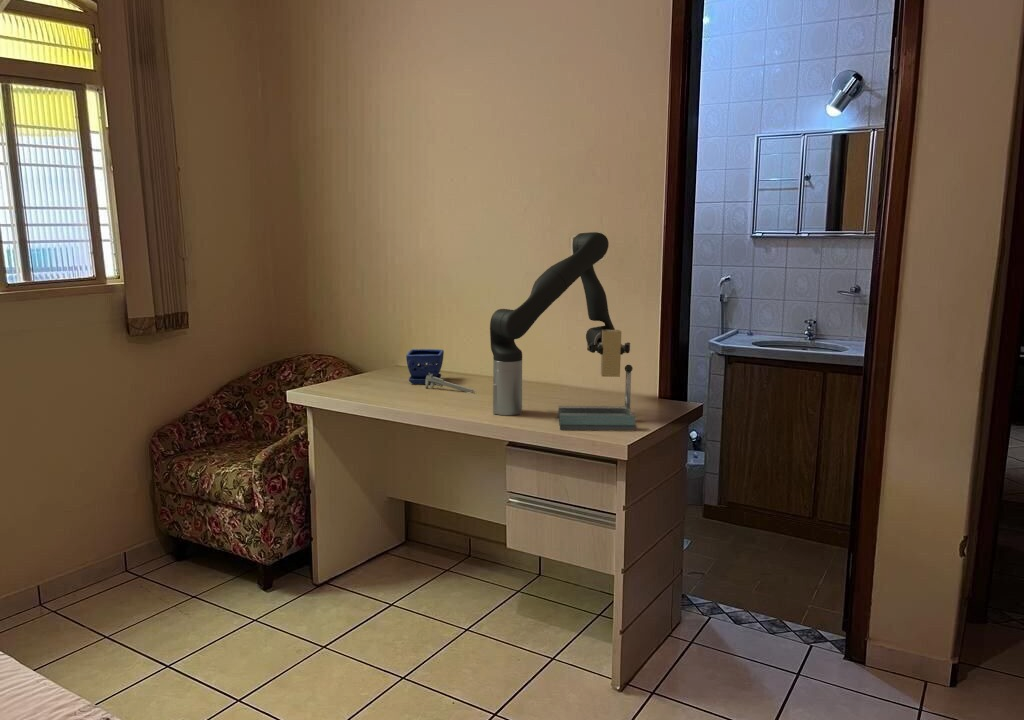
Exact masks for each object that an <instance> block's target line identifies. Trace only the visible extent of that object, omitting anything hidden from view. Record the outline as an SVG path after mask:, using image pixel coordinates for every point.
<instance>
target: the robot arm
mask: <svg viewBox="0 0 1024 720" xmlns="http://www.w3.org/2000/svg"><path fill="white" fill-rule="evenodd" d="M609 243H610V242H609V240H608V237H607V236H606V235H605V234H604V233H601V232H597V231H596V232H595V231H594V232H582V233H578V234H577V235H575V236H574V238H573V240H572V252H573V254H572V255H570V256H568V257H567V258H564V259H562V260H560V261H558V262H556V263H555V264H553V265H551V266H549V267H548V268H547V269H545V271H543V273H541V275H539V276H538V278H536V280H535V281H534V283H533V286H532V288H531V291H530V295H529V296H528V298H527V299H526V300H525V301H524V302H522V304H521V305H519V306H518V307H517V308H515V309H510V308H509V309H508V308H499V309H497V310H495V311H494V312H493V314H492V316H491V318H490V323H489V336H490V337H489V339H490V341H489V342H490V351H491V353H492V356H493V360H492V361H493V368H492V369H493V370H492V371H493V380H492V381H493V385H492V414H493V415H500V416H516V415H520V414H522V413H523V352H522V349H520V348H519V347H518V346H517V344H516V342H515V340H518V339H521V338H522V337H523V336H525V334H526V333H527V332H528V331H529V330H530V328H531V327H532V326H533V325H534V324H535V322H536V321H537V320H538V319H539V317H541V316H542V315H543V313H544V312H546V311H547V310H548V308H549V307H550V306H551V305H552V304H553V303H554V302H555V301H556V300H557V299H558V298H560V297H561V296H562V295H563V294H564V293H565V292H566V291H567V289H569V287H570V286H572V285H573V284H574V283H575V282H576V281H577V280H578V279H579V278H580V280H581V283H582V286H583V290H584V294H585V302H586V309H587V315H588V318H589V320H590V321H594V322H601V323H604V325H601V326H594V327H591V328H588V330H587V331H586V334H585V339H586V347H587V351H588V352H590V353H592V354H594V353H598V354H599V355H601V354H603V347H602V330H616V329H615V326H614V325H613V321H612V320H611V317H610V312H609V306H608V299H607V295H606V291H605V289H604V286H603V285H602V283H601V282H600V280H599V278H598V276H597V274H596V271H595V267H594V265H596V263H598V262H599V261H600V260H602V259H603V258H604V257H605V256H606V254H607V252H608V249H609V246H610V245H609ZM630 352H631V342H625V343H624V344H622V343H621V354H620V355H624V354H630Z"/></svg>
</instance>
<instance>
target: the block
mask: <svg viewBox="0 0 1024 720" xmlns="http://www.w3.org/2000/svg"><path fill="white" fill-rule="evenodd" d="M621 344H622V331H621V330H620V329H615V330H602V347H603V354H600V356H601V358H600V375H601V377H602V378H604V377H605V378H609V377H611V378H613V377H614V378H615V377H617V378H619V377H621V357H622V356H621V355H620V354H621Z"/></svg>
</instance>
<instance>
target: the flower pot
mask: <svg viewBox="0 0 1024 720" xmlns="http://www.w3.org/2000/svg"><path fill="white" fill-rule="evenodd" d="M444 354H445V352H444V349H435V348H434V349H431V348H430V349H429V348H427V349H425V348H423V349H422V348H420V349H418V348H412V349H410V350H409V351H408V352H407V354H406V355H405V357H406V364H407V369H408V372H409V374H410V376H409V378H408V381H409V383H410V384H413V385H425V380H426V376H427V375H428V374H429V373H430V374H433V376H432V377H437V378H440V379H441V376H442V373H440V372H441V369H442V366H443V363H444V362H443V361H444V356H445V355H444ZM429 385H431V381H429Z"/></svg>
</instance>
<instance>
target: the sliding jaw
mask: <svg viewBox="0 0 1024 720" xmlns="http://www.w3.org/2000/svg"><path fill="white" fill-rule="evenodd" d="M624 370H625V390H624V391H625V393H624V405H623V406H619V405H558V407H557V408H558V410H557V411H558V412H557V416H558V415H559V417H560V413H607V414H632V413H631V411H632V410H631V394H632V393H631V389H632V388H631V387H632V385H631V384H632V371H633V366H632V365H631V364H626V365H625V366H624Z"/></svg>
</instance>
